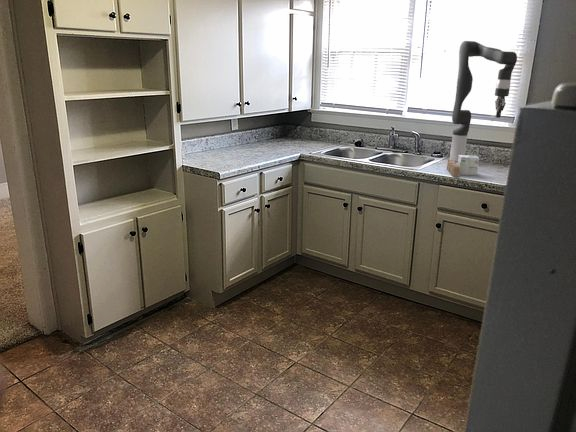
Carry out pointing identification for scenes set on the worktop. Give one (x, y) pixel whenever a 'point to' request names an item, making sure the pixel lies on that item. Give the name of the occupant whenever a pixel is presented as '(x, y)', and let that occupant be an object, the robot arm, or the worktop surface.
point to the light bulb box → (468, 164)
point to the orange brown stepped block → (453, 168)
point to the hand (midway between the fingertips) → (498, 117)
